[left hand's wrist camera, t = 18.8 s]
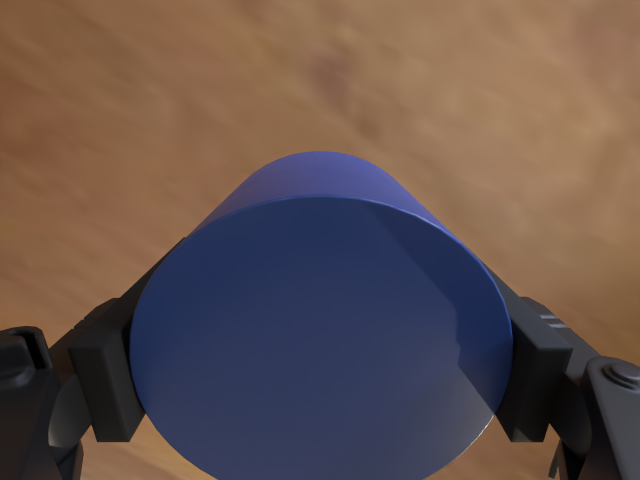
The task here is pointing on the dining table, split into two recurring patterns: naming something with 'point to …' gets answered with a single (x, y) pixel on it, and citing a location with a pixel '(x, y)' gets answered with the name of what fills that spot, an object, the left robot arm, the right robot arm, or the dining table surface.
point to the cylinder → (321, 332)
